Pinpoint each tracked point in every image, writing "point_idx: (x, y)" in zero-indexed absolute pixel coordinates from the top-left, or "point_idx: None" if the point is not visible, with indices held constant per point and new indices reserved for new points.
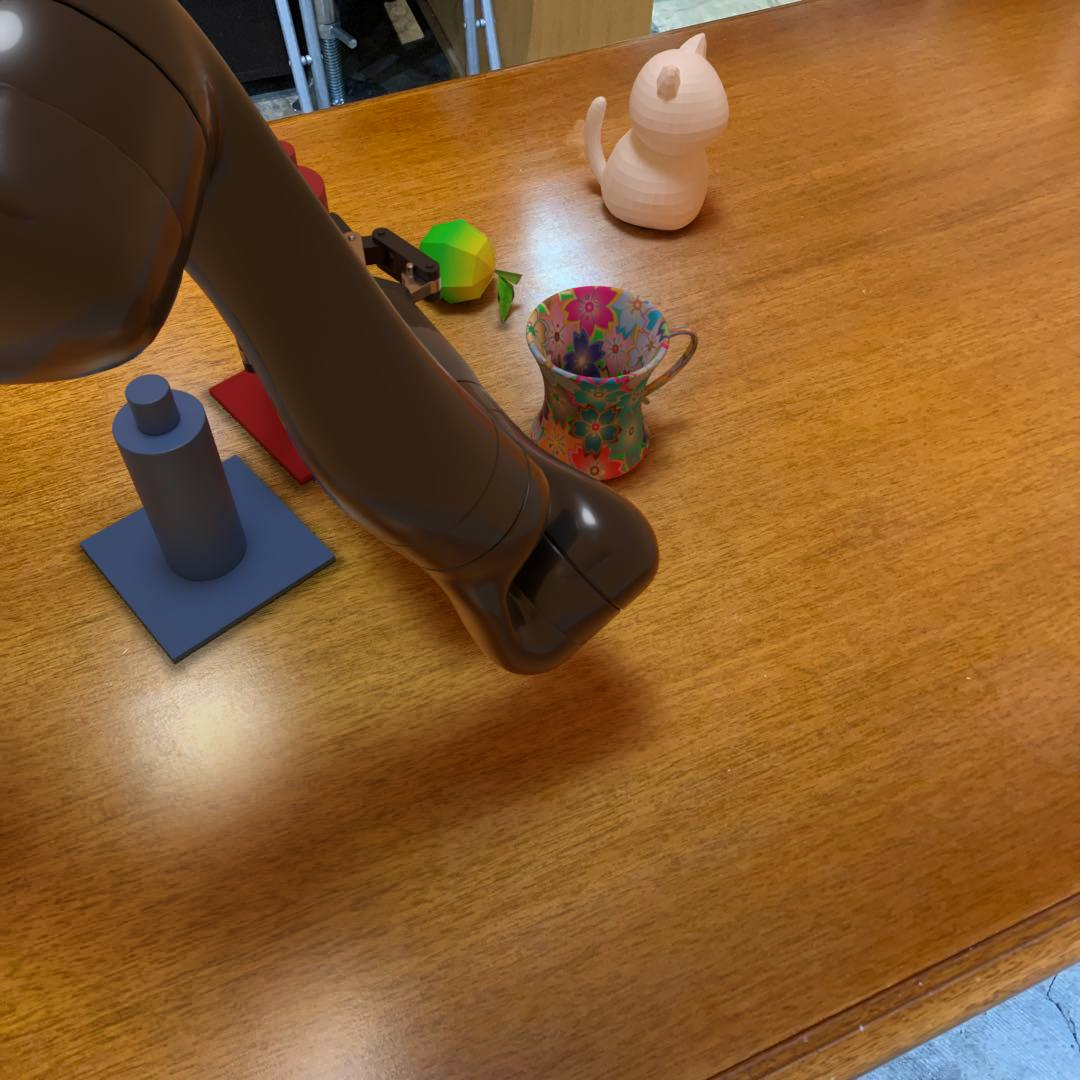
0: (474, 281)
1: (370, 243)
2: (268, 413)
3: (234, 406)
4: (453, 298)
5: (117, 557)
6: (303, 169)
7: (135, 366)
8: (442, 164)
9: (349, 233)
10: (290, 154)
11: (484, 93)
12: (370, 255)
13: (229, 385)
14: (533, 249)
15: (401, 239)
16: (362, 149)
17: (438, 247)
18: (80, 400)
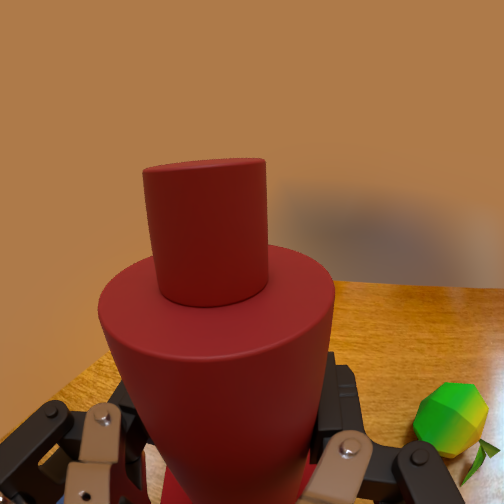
0: (461, 450)
1: (383, 471)
2: (187, 500)
3: (170, 473)
4: None
5: None
6: (303, 261)
7: None
8: (446, 327)
9: (349, 439)
10: (226, 162)
11: (470, 293)
12: (368, 490)
13: None
14: (497, 410)
15: (454, 490)
16: (400, 305)
17: (446, 411)
18: (110, 391)
